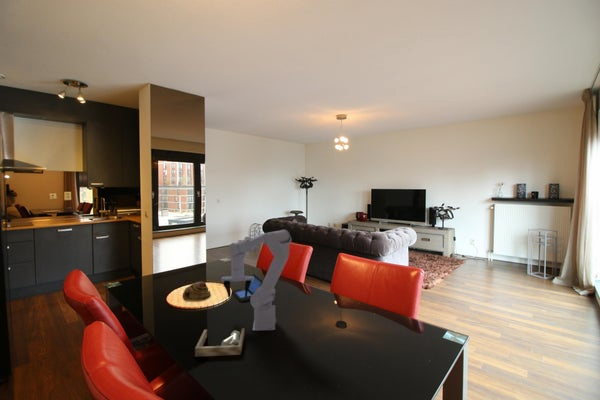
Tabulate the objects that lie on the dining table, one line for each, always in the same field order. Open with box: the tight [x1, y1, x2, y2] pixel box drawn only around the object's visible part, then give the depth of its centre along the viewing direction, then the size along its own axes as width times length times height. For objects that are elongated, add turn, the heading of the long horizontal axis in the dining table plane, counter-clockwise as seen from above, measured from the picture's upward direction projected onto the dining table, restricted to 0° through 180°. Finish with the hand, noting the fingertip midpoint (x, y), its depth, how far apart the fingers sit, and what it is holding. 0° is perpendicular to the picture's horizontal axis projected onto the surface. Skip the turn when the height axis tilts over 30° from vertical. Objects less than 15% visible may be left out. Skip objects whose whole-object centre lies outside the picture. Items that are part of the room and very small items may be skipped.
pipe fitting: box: [220, 329, 241, 346], centre depth 106 cm, size 8×4×7 cm
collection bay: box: [194, 327, 246, 358], centre depth 106 cm, size 16×13×3 cm
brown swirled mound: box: [182, 281, 211, 301], centre depth 153 cm, size 13×15×8 cm
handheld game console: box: [231, 274, 264, 303], centre depth 154 cm, size 16×13×9 cm
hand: (237, 296), depth 129 cm, fingers open, 7 cm apart
